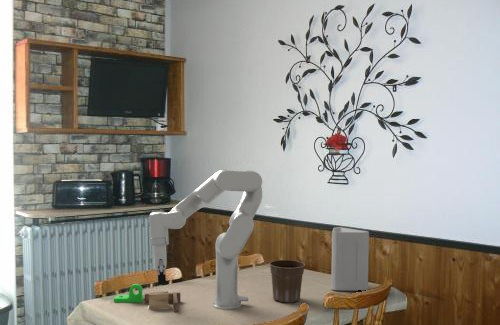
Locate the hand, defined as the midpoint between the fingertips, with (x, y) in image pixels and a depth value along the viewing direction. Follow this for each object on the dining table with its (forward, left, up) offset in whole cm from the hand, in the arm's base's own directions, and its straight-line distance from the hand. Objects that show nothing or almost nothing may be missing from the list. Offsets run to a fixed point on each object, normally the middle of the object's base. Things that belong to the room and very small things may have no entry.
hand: (162, 281), depth 231 cm
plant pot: (-56, -5, -11) cm, 57 cm away
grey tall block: (-88, -22, -11) cm, 92 cm away
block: (+1, 0, -11) cm, 11 cm away
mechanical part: (+14, -12, -12) cm, 22 cm away
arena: (-1, 0, -11) cm, 11 cm away
